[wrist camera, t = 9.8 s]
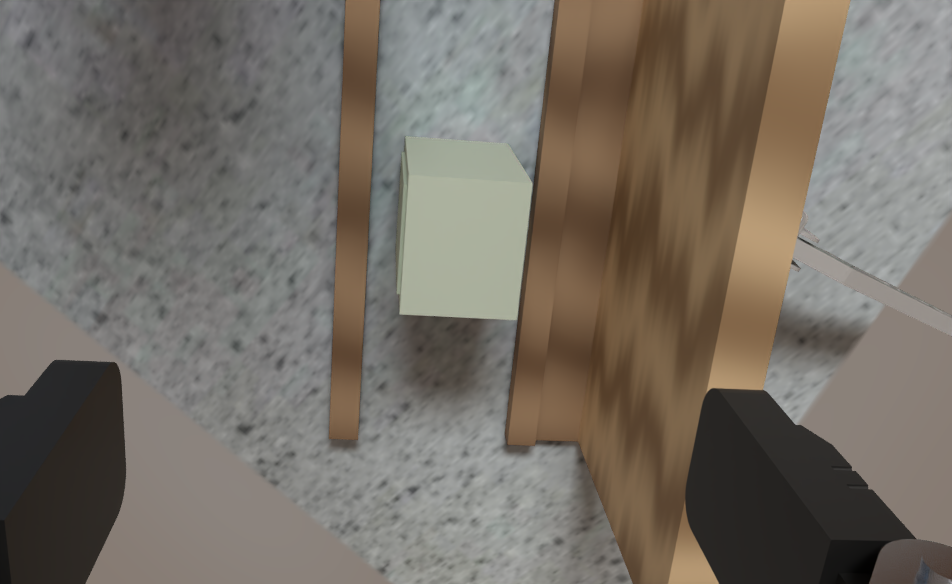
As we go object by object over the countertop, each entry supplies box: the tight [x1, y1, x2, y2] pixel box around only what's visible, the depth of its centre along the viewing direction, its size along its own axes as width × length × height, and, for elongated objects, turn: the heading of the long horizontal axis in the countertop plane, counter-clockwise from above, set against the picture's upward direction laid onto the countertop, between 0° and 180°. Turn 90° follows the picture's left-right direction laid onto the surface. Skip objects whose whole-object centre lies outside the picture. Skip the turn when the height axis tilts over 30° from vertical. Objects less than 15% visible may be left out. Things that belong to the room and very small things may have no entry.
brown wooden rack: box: [329, 0, 850, 584], centre depth 37 cm, size 26×16×16 cm, turn 175°
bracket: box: [790, 211, 952, 336], centre depth 46 cm, size 3×21×10 cm, turn 62°
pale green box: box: [396, 136, 533, 320], centre depth 41 cm, size 6×5×8 cm
